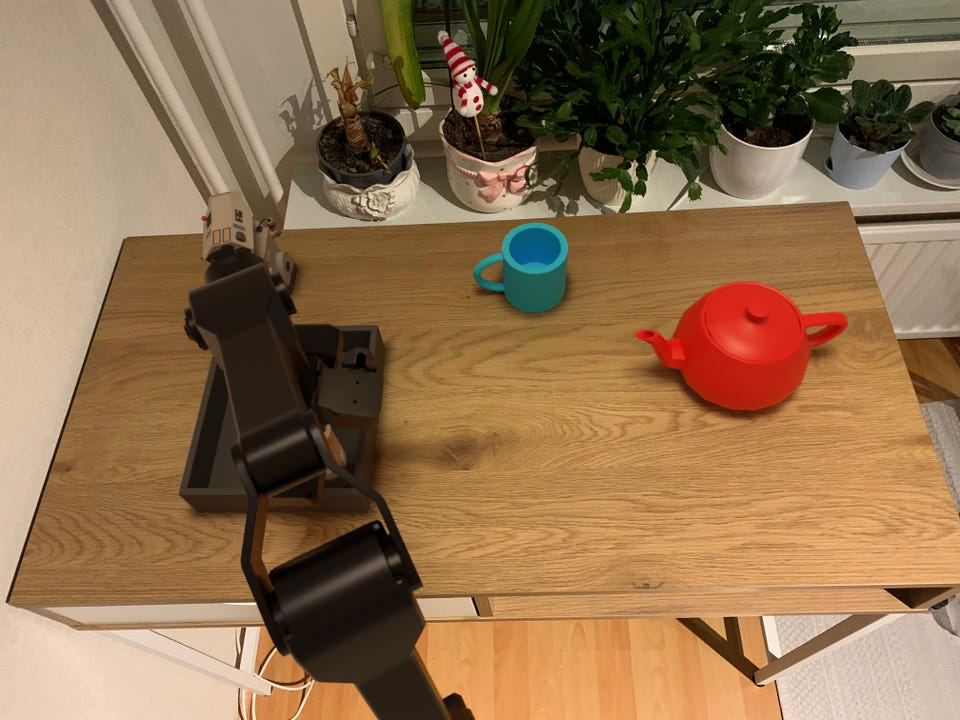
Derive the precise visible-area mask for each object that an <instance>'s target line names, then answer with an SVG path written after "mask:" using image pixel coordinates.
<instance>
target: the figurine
mask: <svg viewBox="0 0 960 720" xmlns="http://www.w3.org/2000/svg"><path fill="white" fill-rule="evenodd" d="M207 200H208V201H207V205H208V207H207V210H206V213H205V215H202V216H201V217H200V218H201V221H202V222H203V223H202V257H200V260H201V261H202V262H203V263H205V264H206V265H208V267H209V266H210V265H211V264H212V263H213V262H214V258H213V256H212V252H215V251H217V250H220V249H222V248H225V247H227V246H230V245H233V247H234V249H235V251H236V252H250V253H254V254H256V255H259V256H260V257H261V258H263V259H264V261H265V262H266V265H267V267H268V269H269V272H270V274H273V273H276V272H278V271H279V272H280V274H281V275H282V277H283V279H284V282H285V284H286V286H287V288H288V291H289V293H290V292H291V293H292V292H293V288H294V281H295V278H296V274H297V269H298V265H297V263H296V262H294V261H293V258H292V257H291V255H290V254H289V253H288V252H287V251H282V250H281V249H280V246H278V244H277V243H276V241H275V239H276V238H278V237H280V236H281V235H282V231H281V229H280V228H279V227H278V225H277V223H276V222H275V220H274V219H273V218H272V217H267V218H264V219H261V221H259V220H253V211H252V210H251V208H249V206H248V205H247V204H246V203H245V201H244V200H243V199H242V191H240V190H229V191H225V192H221V193H216V194H212V195H210V196H209V197H208V198H207ZM264 221H265V223H266V225H267V226H264V225H263V224H262V223H263V222H264Z"/></svg>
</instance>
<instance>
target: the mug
mask: <svg viewBox="0 0 960 720" xmlns="http://www.w3.org/2000/svg"><path fill="white" fill-rule="evenodd" d="M568 257H569V243H568V241H567V238H566V236H565V235H564V234H563V233H562V232H561V231H560V229H558V228H556V227H554V226H553V225H550V224H546V223H543V222H528V223H523V224H520V225H518V226H516V227H515V228H513V229H511V230H510V231H509V232H508V233H507V234H506V236H505V237H504V239H503V241H502V245H501V252H496V253H494V254H491V255H489V256H486V257H485V258H483V259H482V260H480V261H479V262H478V263H477V264H476V266H475V267H474V269H473V274H472V276H473V278H474V281H475V283H476V284H477V285H478V286H480V287H481V288H484V289H486V290H489V291H495V292H503V293H504V296H505V298H506V300H507V301H508V302H509V303H510V305H511V306H513V307H515V308H516V309H517V310H519V311H522V312H526V313H542V312H543V313H544V312H547V311H549V310H551V309H553V308H554V307H557V305H558V304H559V303H560V302H561V301H562V299H563V297H564V295H565V292H566V282H567V270H568V259H569V258H568ZM499 262H502V280H503V281H502V282H495V281H490V280H487V279H485V278H483V277H482V272H483V271H484V270H485V269H486V268H488V267H489V266H491V265H494V264H496V263H499Z"/></svg>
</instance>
